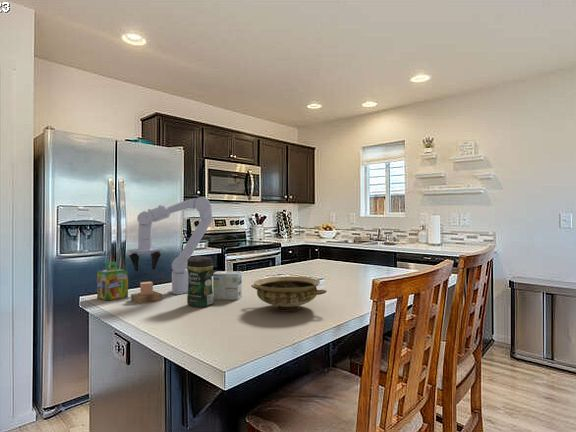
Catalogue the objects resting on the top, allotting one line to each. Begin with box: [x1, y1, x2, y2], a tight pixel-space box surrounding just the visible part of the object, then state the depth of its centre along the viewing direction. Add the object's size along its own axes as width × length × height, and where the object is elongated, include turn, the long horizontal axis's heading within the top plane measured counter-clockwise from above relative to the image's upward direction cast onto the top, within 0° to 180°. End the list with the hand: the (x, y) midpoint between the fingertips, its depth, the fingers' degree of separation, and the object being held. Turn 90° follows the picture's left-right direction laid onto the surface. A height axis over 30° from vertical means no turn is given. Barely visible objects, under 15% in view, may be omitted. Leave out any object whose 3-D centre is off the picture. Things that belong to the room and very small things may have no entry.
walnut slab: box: [130, 290, 163, 305], centre depth 148 cm, size 9×9×3 cm
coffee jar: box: [186, 255, 214, 308], centre depth 139 cm, size 10×8×19 cm
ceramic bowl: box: [251, 276, 327, 312], centre depth 132 cm, size 30×24×10 cm
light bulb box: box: [212, 270, 243, 301], centre depth 150 cm, size 11×7×11 cm, turn 84°
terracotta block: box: [139, 281, 154, 295], centre depth 148 cm, size 4×4×4 cm
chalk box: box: [96, 261, 129, 301], centre depth 153 cm, size 9×9×15 cm
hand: (145, 270), depth 160 cm, fingers open, 7 cm apart
